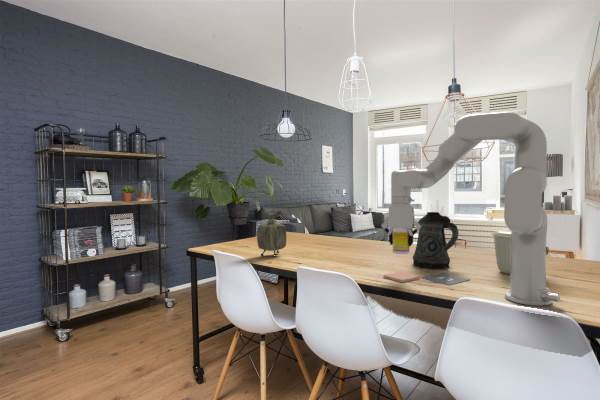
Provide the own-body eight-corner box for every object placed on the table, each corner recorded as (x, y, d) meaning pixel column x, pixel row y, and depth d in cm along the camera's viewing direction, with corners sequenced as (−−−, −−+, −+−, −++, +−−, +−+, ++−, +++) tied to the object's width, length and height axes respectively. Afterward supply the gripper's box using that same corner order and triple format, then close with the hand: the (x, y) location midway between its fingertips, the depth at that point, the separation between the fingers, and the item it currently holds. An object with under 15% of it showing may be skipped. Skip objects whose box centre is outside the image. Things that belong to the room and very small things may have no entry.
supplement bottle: (410, 254, 138) (410, 222, 138) (393, 254, 140) (393, 222, 139) (408, 251, 145) (408, 220, 145) (392, 251, 146) (392, 220, 146)
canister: (492, 266, 160) (492, 220, 159) (540, 270, 151) (540, 222, 150) (490, 275, 144) (490, 224, 144) (544, 280, 135) (544, 226, 134)
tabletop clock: (278, 253, 202) (277, 209, 201) (288, 255, 195) (287, 210, 194) (257, 256, 193) (256, 211, 192) (266, 259, 186) (265, 211, 185)
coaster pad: (419, 278, 141) (419, 276, 141) (402, 282, 136) (402, 280, 136) (400, 273, 150) (400, 271, 149) (383, 277, 144) (383, 274, 144)
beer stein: (412, 260, 175) (411, 211, 174) (454, 262, 170) (454, 211, 169) (413, 268, 159) (413, 213, 158) (459, 270, 154) (459, 213, 153)
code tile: (470, 280, 138) (470, 279, 138) (449, 285, 131) (449, 284, 131) (441, 273, 149) (441, 272, 149) (421, 277, 142) (421, 277, 142)
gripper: (424, 200, 141) (424, 245, 141) (382, 200, 149) (382, 242, 150) (421, 201, 134) (421, 247, 135) (377, 201, 142) (377, 244, 143)
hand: (400, 244), depth 142 cm, fingers closed on supplement bottle, 6 cm apart
